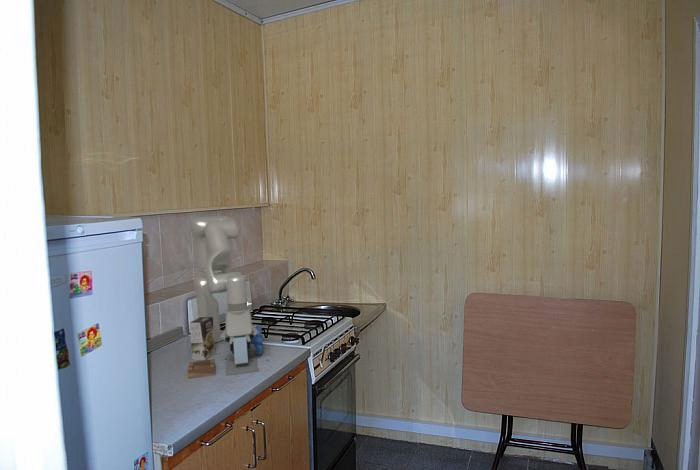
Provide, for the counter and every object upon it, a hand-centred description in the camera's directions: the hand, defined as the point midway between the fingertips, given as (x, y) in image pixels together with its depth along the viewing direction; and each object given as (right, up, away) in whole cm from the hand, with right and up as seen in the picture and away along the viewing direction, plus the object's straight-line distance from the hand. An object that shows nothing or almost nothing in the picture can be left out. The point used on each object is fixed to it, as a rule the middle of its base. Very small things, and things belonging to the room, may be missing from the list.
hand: (240, 351), depth 188 cm
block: (0, -4, 0) cm, 4 cm away
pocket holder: (-14, -7, -3) cm, 16 cm away
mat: (0, -6, +1) cm, 6 cm away
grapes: (+3, -5, +16) cm, 17 cm away
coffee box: (-19, -6, +15) cm, 25 cm away
